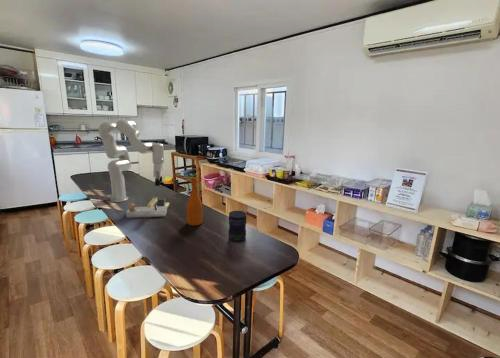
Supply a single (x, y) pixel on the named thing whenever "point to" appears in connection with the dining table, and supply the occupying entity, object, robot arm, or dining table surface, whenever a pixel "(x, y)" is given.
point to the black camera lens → (237, 226)
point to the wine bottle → (194, 206)
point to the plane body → (146, 211)
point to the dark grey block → (160, 201)
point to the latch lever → (152, 202)
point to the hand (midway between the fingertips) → (158, 183)
